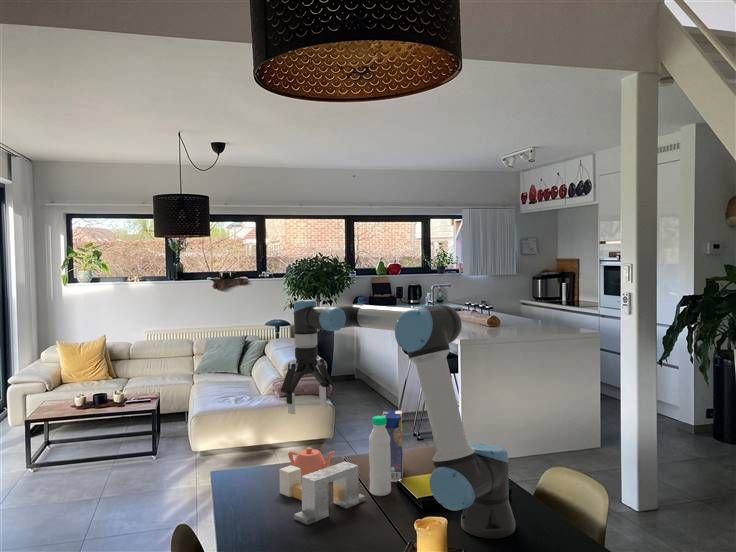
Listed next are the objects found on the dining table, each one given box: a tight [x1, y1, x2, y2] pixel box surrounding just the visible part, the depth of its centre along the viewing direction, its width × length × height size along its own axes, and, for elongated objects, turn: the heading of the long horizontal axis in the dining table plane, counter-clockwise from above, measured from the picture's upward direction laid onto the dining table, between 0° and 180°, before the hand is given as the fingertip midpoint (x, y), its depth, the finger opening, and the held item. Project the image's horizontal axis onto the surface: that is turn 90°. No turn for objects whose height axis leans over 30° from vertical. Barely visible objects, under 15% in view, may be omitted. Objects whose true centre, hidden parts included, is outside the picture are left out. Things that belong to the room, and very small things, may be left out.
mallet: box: [278, 464, 302, 501], centre depth 193 cm, size 20×5×8 cm, turn 46°
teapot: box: [287, 446, 336, 476], centre depth 215 cm, size 12×18×10 cm
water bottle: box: [368, 415, 392, 497], centre depth 197 cm, size 7×7×25 cm
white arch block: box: [293, 461, 367, 526], centre depth 184 cm, size 6×24×12 cm, turn 136°
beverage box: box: [381, 409, 404, 483], centre depth 212 cm, size 7×11×22 cm, turn 175°
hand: (307, 409), depth 201 cm, fingers open, 13 cm apart
